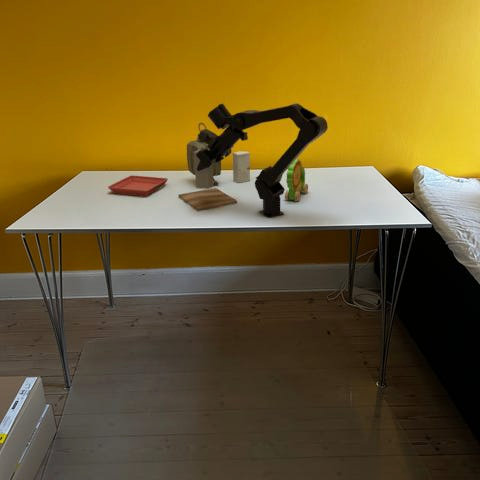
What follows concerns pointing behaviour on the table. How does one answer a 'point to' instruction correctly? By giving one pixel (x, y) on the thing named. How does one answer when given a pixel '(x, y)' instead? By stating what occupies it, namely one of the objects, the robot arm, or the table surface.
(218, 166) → the tabletop clock
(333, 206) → the table surface
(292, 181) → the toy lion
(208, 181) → the tall taupe box
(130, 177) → the plant saucer
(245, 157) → the skincare box
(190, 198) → the walnut board
